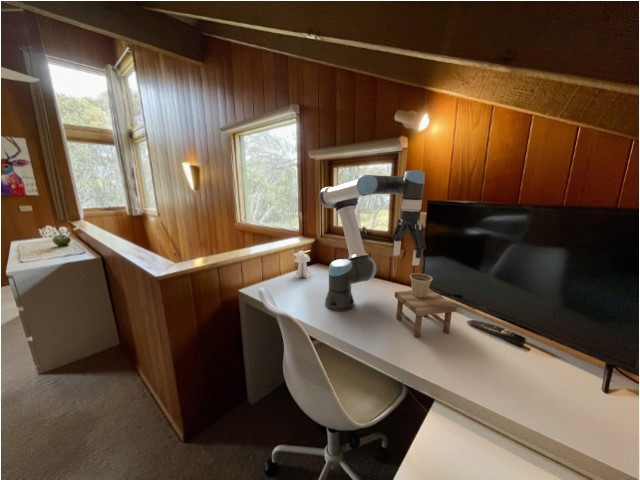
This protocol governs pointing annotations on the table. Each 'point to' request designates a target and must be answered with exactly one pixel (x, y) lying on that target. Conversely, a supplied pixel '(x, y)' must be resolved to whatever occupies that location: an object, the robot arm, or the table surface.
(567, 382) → the table surface
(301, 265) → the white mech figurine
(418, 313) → the walnut stool
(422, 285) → the flower pot
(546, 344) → the table surface
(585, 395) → the table surface
